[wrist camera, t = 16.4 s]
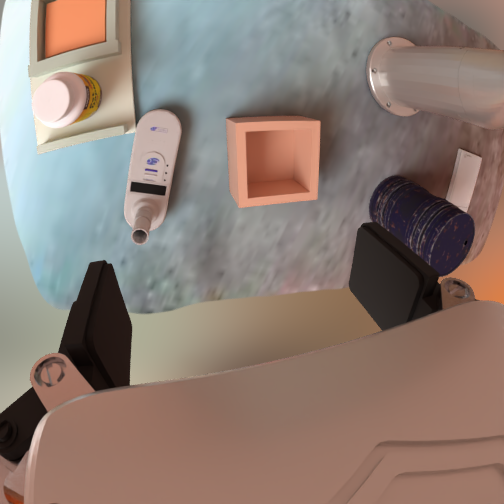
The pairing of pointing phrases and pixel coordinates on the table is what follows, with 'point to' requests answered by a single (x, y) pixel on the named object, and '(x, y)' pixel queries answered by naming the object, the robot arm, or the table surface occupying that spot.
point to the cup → (273, 159)
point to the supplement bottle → (66, 99)
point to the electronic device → (151, 172)
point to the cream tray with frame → (92, 64)
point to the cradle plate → (74, 25)
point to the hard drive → (463, 179)
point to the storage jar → (423, 222)
